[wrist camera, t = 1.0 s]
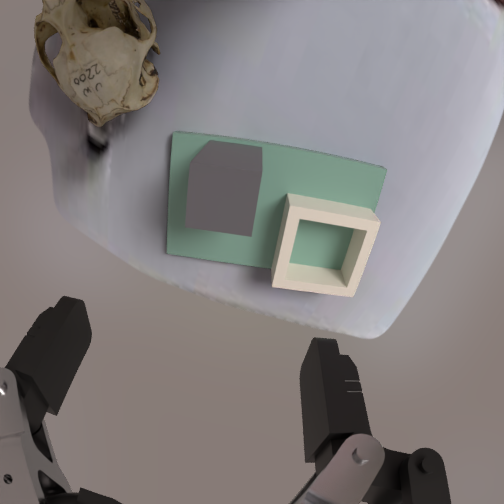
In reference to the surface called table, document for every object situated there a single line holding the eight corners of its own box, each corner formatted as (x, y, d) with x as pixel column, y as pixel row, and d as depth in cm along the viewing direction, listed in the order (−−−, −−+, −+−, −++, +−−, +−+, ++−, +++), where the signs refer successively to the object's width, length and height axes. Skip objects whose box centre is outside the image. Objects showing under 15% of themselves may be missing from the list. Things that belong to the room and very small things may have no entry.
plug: (210, 139, 25) (189, 162, 18) (262, 147, 25) (262, 172, 18) (204, 194, 28) (184, 234, 21) (253, 201, 28) (250, 244, 21)
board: (175, 131, 26) (172, 132, 25) (383, 166, 27) (387, 169, 26) (169, 248, 32) (166, 253, 31) (349, 274, 33) (351, 279, 32)
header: (287, 193, 27) (290, 205, 25) (370, 208, 28) (380, 222, 25) (271, 268, 31) (271, 286, 29) (346, 279, 32) (353, 297, 29)
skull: (144, -68, 14) (96, -89, 7) (193, 72, 25) (169, 109, 18) (55, -21, 16) (-13, -10, 9) (106, 105, 27) (60, 152, 20)
